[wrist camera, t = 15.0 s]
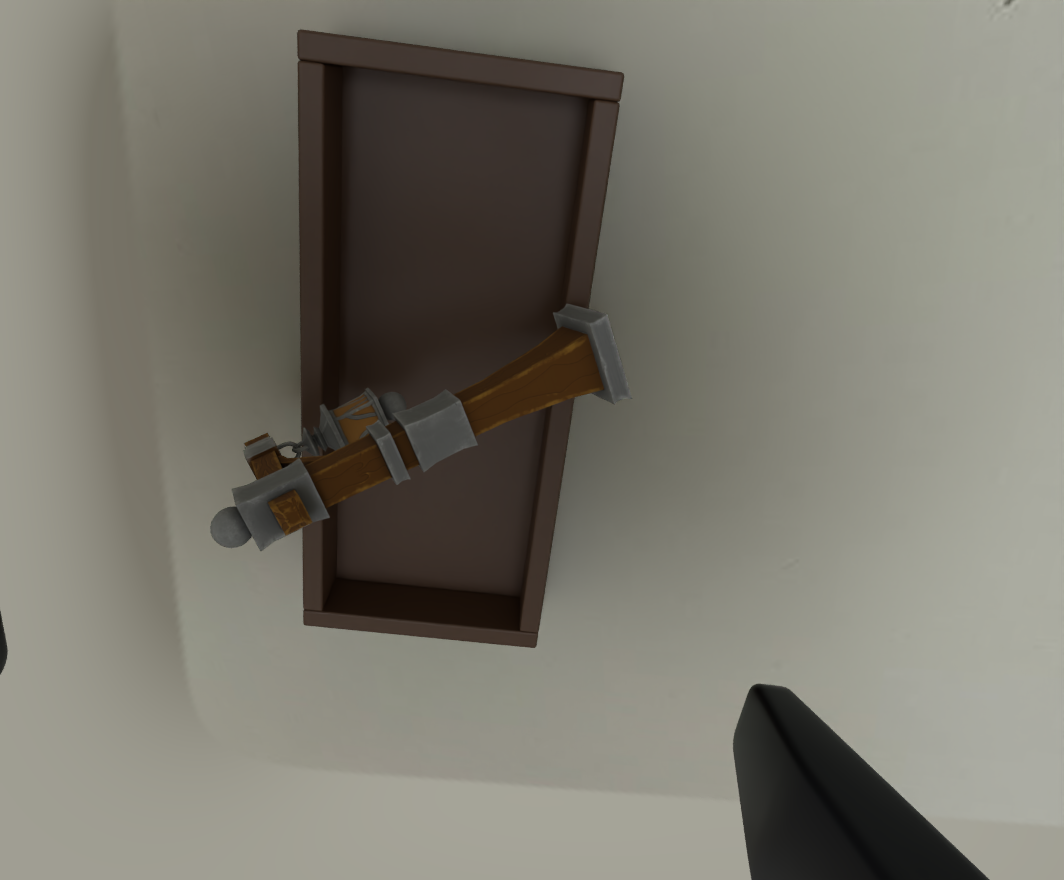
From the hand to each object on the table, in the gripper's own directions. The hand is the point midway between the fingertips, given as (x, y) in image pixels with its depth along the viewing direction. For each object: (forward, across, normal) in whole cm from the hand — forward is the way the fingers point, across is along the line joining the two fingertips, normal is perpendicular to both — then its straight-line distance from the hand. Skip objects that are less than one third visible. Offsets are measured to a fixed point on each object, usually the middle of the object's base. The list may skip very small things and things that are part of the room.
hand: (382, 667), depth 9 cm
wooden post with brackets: (+8, 0, 0) cm, 9 cm away
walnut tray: (+10, 0, 0) cm, 10 cm away
